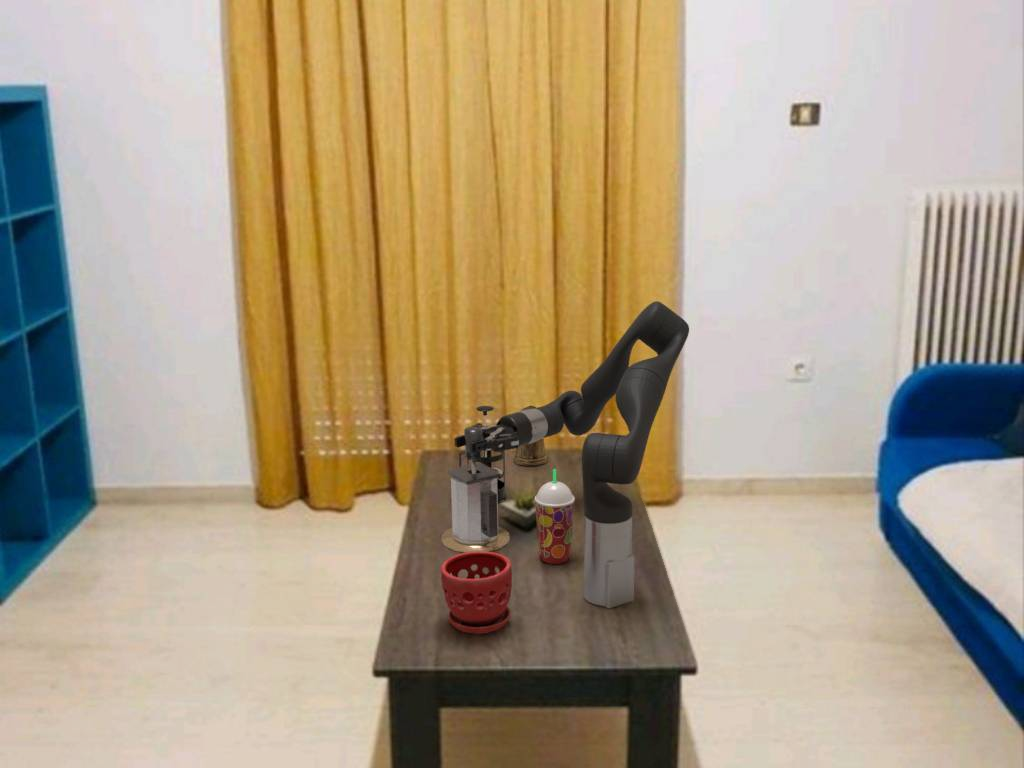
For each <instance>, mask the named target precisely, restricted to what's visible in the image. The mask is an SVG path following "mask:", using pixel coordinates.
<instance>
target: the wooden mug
mask: <svg viewBox="0 0 1024 768" xmlns="http://www.w3.org/2000/svg"><path fill="white" fill-rule="evenodd" d="M535 408H538V407H537V406H533V405H529V406H525V407H523V408H522V409H520V411H523V410H529V409H535ZM514 451H515V452H514V455H513V463H515V464H516V465H518V466H522V467H539V466H542V465H545V464H546V463H547V462H548V455H547V453H546V446H545V438H542V439H540V440H538V441H536V442H533V443H530V444H527V445H523V446H520V447H519V448H515V450H514Z"/></svg>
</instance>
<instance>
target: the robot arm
mask: <svg viewBox="0 0 1024 768" xmlns="http://www.w3.org/2000/svg"><path fill="white" fill-rule="evenodd" d="M689 333H690V325H689V323H687V321H685V320H684V318H682V317H681V316H680V315H679V314H677V313H676V312H675V311H673V310H672V309H671V308H670V307H668V306H667V305H665V304H664V303H662V302H661V301H657V300H656V301H653V302H651V303H650V304H648V305H647V306H645V307H644V309H643V310H642V311H641V312H640V313H639V315H637V317H636V318H635V319H634V320H633V322H632V323H631V324H630V326H629V327H628V329H626V331H625V333H623V335H622V337H620V339H619V340H618V341H617V343H616V344H615V346H614V347H613V349H612V350H611V351H610V352H609V354H608V355H607V357H606V358H605V359H604V360H603V362H602V363H601V364H600V365H598V367H597V368H596V369H595V370H594V371H593V372H592V373H591V374H590V375H589V376H588V378H587V379H585V380H584V381H583V383H582V384H581V387H580V392H578V391H576V390H568V391H565V392H564V393H562V394H561V395H560V396H558V397H557V398H556V399H554V400H552V401H551V402H549V403H548V404H545V405H543V406H542V405H541V406H538V407H537V408H535V409H529V410H523V411H521V410H520V411H517V412H513V413H510V414H506V415H502V416H501V417H500V418H499V419H498V421H497V422H496V424H490V425H487V426H488V427H482V426H483V423H482V422H479V423H478V422H477V423H475V424H474V425H472V426H470V427H479V428H481V437H482V433H483V439H482V440H478V441H475V442H472V443H470V452H471V453H476V452H479V451H482V450H483V451H484V450H485V449H486V450H488V451H489V450H491V449H493V452H495V453H497V452H498V451H504V450H505V451H508V450H514V449H515V450H516V448H519V447H520V446H523V445H527V444H530V443H533V442H536V441H538V440H540V439H542V438H543V439H545V438H548V437H552V436H555V435H558V434H559V433H560V432H561V431H562V430H563V429H564V426H565V428H566V429H567V431H568V432H569V433H570V434H571V435H573V436H578V437H579V436H583V435H586V434H588V433H589V432H590V431H591V430H592V429H593V428H594V427H595V425H596V423H598V420H599V418H600V415H601V414H602V412H603V410H604V408H605V406H606V405H607V403H608V402H609V401H610V400H612V398H613V397H614V396H615V397H614V398H615V404H616V407H617V409H618V412H619V414H620V416H621V418H622V419H623V421H624V423H625V425H626V427H627V428H628V432H629V433H627V434H625V435H623V434H613V433H604V432H591V433H589V434H588V435H587V436H586V437H585V439H584V441H583V444H582V451H581V474H582V490H583V492H582V493H583V494H582V498H583V501H582V502H583V507H584V508H583V597H584V599H585V600H586V601H588V603H591V604H593V605H595V606H596V605H597V606H600V607H604V608H607V609H612V608H615V607H618V606H621V605H624V604H628V603H631V602H634V600H635V599H634V597H635V556H634V555H633V553H632V546H633V545H632V544H633V543H632V542H633V537H632V536H633V503H632V500H631V499H630V498H629V497H628V496H626V495H625V494H623V493H621V492H619V491H618V490H615V488H612V487H611V485H609V484H613V485H614V484H615V485H616V484H617V485H630V484H632V483H634V482H635V481H636V480H637V477H638V475H639V473H640V471H641V467H642V464H643V460H644V456H645V453H646V448H647V444H648V441H649V436H650V433H651V430H652V426H653V423H654V422H655V419H656V416H657V414H658V411H659V408H660V406H661V404H662V401H663V398H664V396H665V392H666V389H667V386H668V382H669V379H670V376H671V374H672V372H673V369H674V366H675V364H676V362H677V359H678V358H679V356H680V354H681V352H682V350H683V348H684V347H685V344H686V342H687V340H688V337H689ZM638 340H640V341H641V342H642V343H643V344H645V345H646V346H647V347H649V348H650V349H651V350H652V351H654V352H655V353H656V356H653V357H650V358H646V359H642V360H638V361H637V362H634V363H632V364H631V365H630V360H631V359H630V358H631V354H632V350H633V347H634V346H635V344H636V343H637V341H638ZM463 430H464V432H463V433H464V434H462V435H459V436H456V437H454V446H455V447H456V448H461V447H465V429H463ZM483 451H482V452H483ZM491 451H492V450H491Z"/></svg>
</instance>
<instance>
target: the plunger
mask: <svg viewBox="0 0 1024 768" xmlns="http://www.w3.org/2000/svg"><path fill="white" fill-rule="evenodd" d="M464 430H465V434H464V435H465V446H464V451H465V454H464V456H465V458H470V459H471V460H470V461H471V464H470V465H472V474H476V464H477V462H476V458H480V457H483V451H479V452H476V453H471V452H470V443H472V442H475V441H478V440H482V437H481V428H479V427H471V426H468V427H465V428H464Z"/></svg>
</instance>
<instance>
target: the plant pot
mask: <svg viewBox="0 0 1024 768" xmlns="http://www.w3.org/2000/svg"><path fill="white" fill-rule="evenodd" d="M475 565H476V567H477V568H476V569H472V566H475ZM485 568H486V569H487V570H488V573H485V572H484V571H483V570H484V569H485ZM496 568H497V569H498V570H499V572H497V571H496ZM462 570H465V571H466V572H467V576H466V577H465V578H463V577H459V573H460V571H462ZM512 574H513V572H512V562H511V561H510V559H509V558H508V557H506V556H505V555H503V554H501V553H497V552H494V551H491V552H485V551H476V552H467V553H459V554H456V555H453V556H452V557H450V558H448V559H446V560H445V561H444V562H443V563H442V565H441V567H440V578H441V585H442V592H443V594H444V599H445V602H446V606H447V607H448V609H449V612H448V620H449V622H450V624H451V625H452V626H453V627H454V628H455V629H457V630H458V631H460V632H463V633H469V634H477V635H478V634H487V633H493V632H495V631H497V630H499V629H501V628H504V626H506V625H507V623H508V622H509V620H510V618H511V613H512V612H511V609H510V607H509V606H508V605H509V602H510V600H511V594H512V586H513V575H512ZM476 575H478V576H479V577H478V578H477V577H476Z"/></svg>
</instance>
